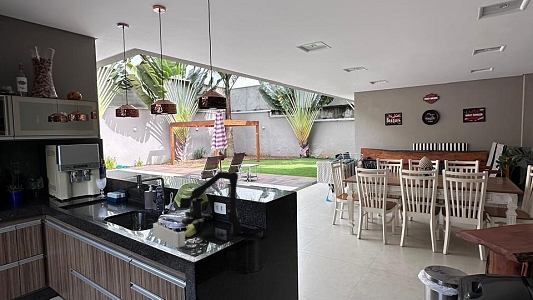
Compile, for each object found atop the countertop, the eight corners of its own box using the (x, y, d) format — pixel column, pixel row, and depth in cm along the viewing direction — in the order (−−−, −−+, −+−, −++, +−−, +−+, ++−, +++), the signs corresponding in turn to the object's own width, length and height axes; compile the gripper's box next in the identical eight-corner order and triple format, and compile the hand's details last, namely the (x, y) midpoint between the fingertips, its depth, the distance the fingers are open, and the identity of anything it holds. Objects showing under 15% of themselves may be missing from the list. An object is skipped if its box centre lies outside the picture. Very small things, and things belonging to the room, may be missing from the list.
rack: (185, 245, 167) (184, 226, 167) (177, 247, 164) (177, 228, 163) (160, 234, 188) (160, 217, 188) (153, 236, 185) (153, 218, 184)
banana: (202, 219, 196) (185, 232, 177) (205, 227, 196) (187, 240, 178) (186, 223, 201) (167, 235, 182) (188, 230, 201) (170, 243, 183)
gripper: (202, 204, 198) (202, 227, 198) (177, 208, 184) (177, 233, 185) (212, 206, 190) (212, 230, 190) (186, 211, 176) (186, 237, 177)
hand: (197, 232), depth 186 cm, fingers closed
